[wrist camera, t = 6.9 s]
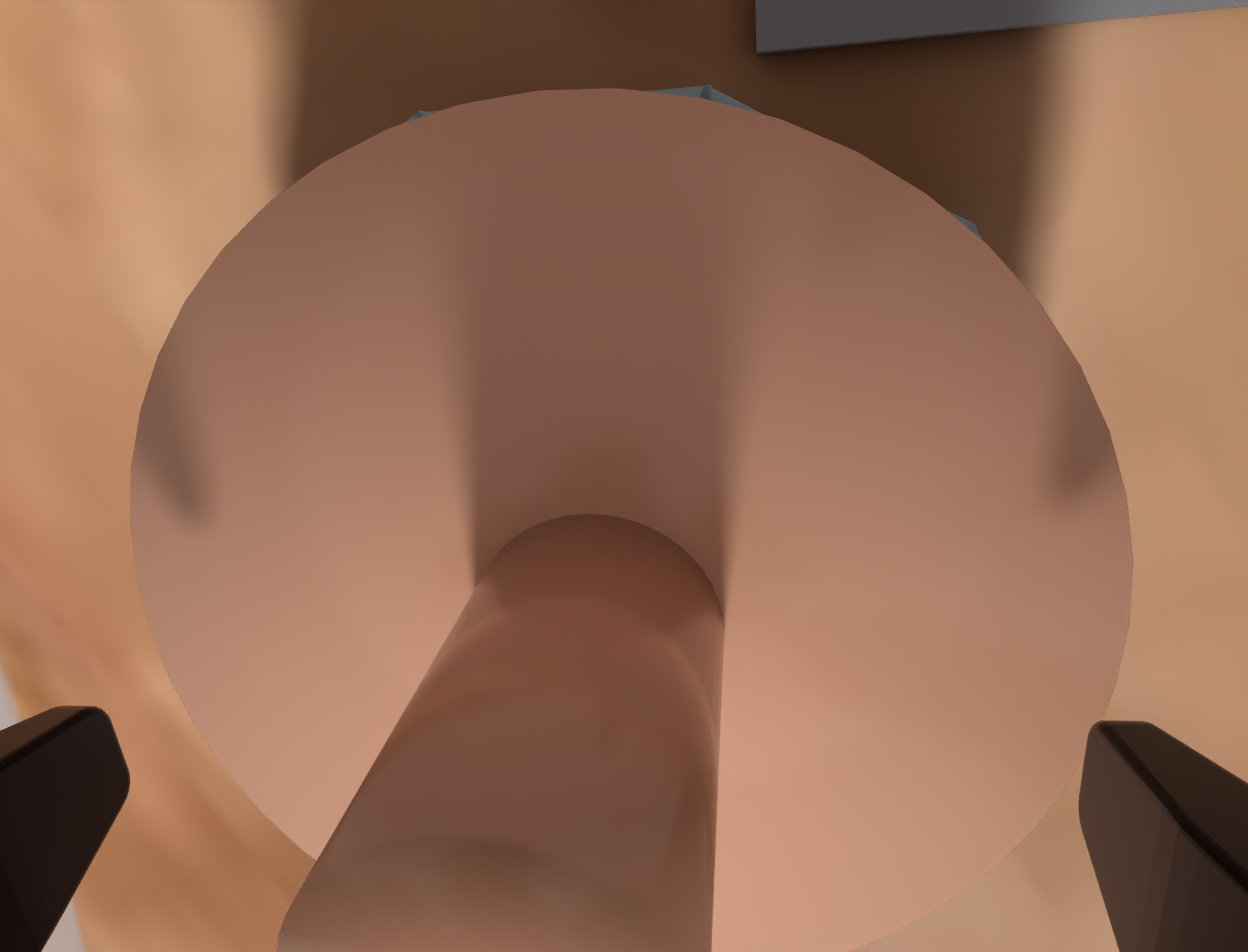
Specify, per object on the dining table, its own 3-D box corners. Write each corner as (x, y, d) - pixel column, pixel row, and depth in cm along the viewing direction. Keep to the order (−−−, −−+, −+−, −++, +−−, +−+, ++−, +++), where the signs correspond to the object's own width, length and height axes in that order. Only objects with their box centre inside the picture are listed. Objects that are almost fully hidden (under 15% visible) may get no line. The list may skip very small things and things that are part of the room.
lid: (1161, 33, 8) (1952, -145, 3) (1048, 937, 12) (1277, 1551, 7) (64, 144, 9) (-733, 165, 4) (293, 903, 13) (17, 1375, 8)
